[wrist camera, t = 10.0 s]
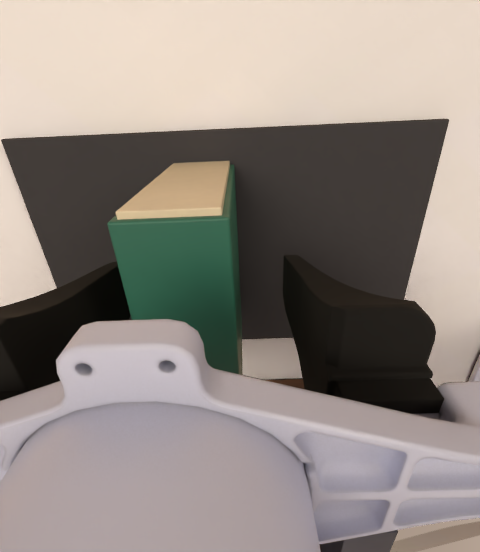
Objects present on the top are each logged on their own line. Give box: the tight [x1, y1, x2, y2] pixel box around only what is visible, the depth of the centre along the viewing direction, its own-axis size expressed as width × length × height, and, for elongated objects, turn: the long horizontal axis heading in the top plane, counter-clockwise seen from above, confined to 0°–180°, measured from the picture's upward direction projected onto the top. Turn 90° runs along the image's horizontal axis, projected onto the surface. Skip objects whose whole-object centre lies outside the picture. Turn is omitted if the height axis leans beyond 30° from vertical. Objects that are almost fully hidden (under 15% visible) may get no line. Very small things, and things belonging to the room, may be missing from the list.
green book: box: [107, 161, 242, 375], centre depth 13 cm, size 3×9×8 cm, turn 2°
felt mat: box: [1, 119, 449, 339], centre depth 17 cm, size 20×12×1 cm, turn 92°
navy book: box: [321, 530, 398, 552], centre depth 20 cm, size 3×8×7 cm, turn 2°
